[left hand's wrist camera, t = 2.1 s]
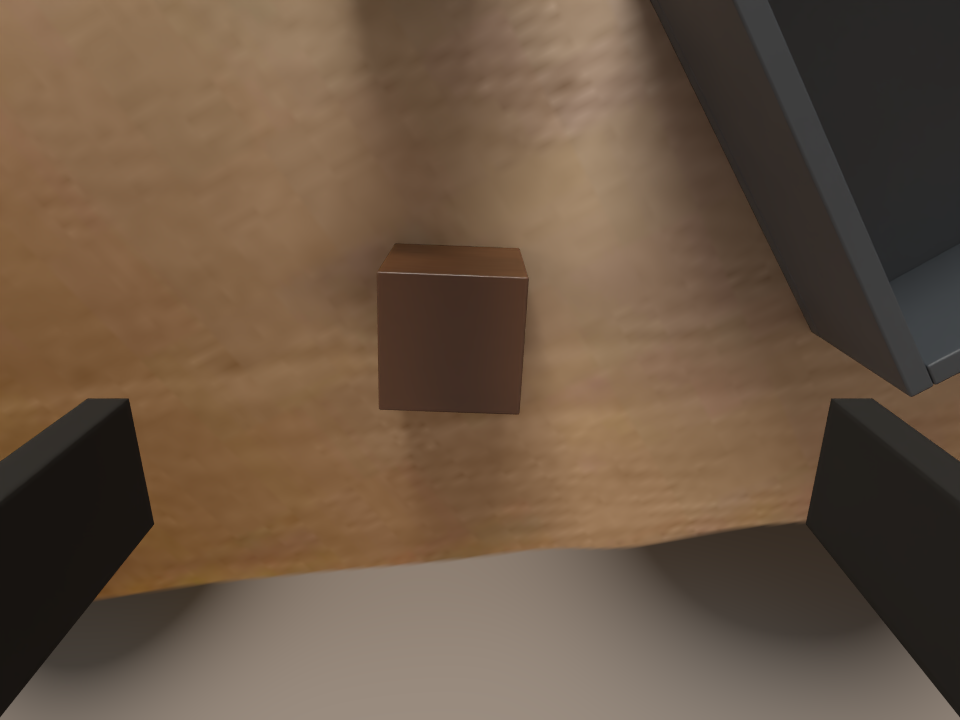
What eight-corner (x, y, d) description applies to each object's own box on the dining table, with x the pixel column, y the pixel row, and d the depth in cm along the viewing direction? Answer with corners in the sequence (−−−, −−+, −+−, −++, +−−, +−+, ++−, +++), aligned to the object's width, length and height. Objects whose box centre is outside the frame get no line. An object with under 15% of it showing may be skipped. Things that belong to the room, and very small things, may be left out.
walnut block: (395, 360, 28) (378, 410, 23) (394, 243, 26) (376, 271, 22) (512, 364, 28) (519, 415, 23) (519, 248, 26) (528, 277, 22)
